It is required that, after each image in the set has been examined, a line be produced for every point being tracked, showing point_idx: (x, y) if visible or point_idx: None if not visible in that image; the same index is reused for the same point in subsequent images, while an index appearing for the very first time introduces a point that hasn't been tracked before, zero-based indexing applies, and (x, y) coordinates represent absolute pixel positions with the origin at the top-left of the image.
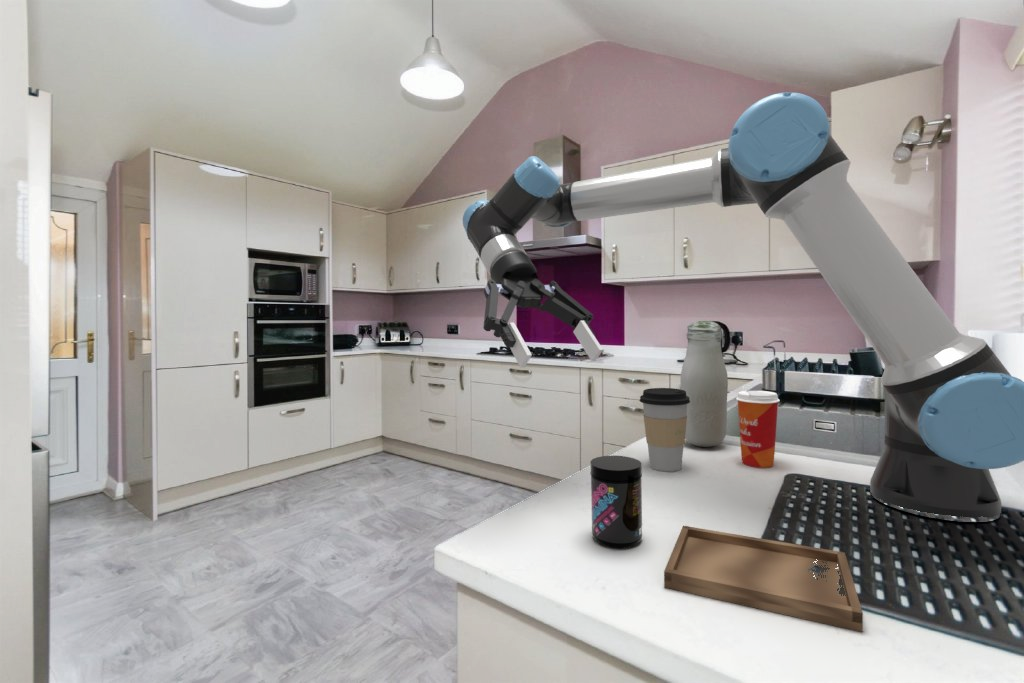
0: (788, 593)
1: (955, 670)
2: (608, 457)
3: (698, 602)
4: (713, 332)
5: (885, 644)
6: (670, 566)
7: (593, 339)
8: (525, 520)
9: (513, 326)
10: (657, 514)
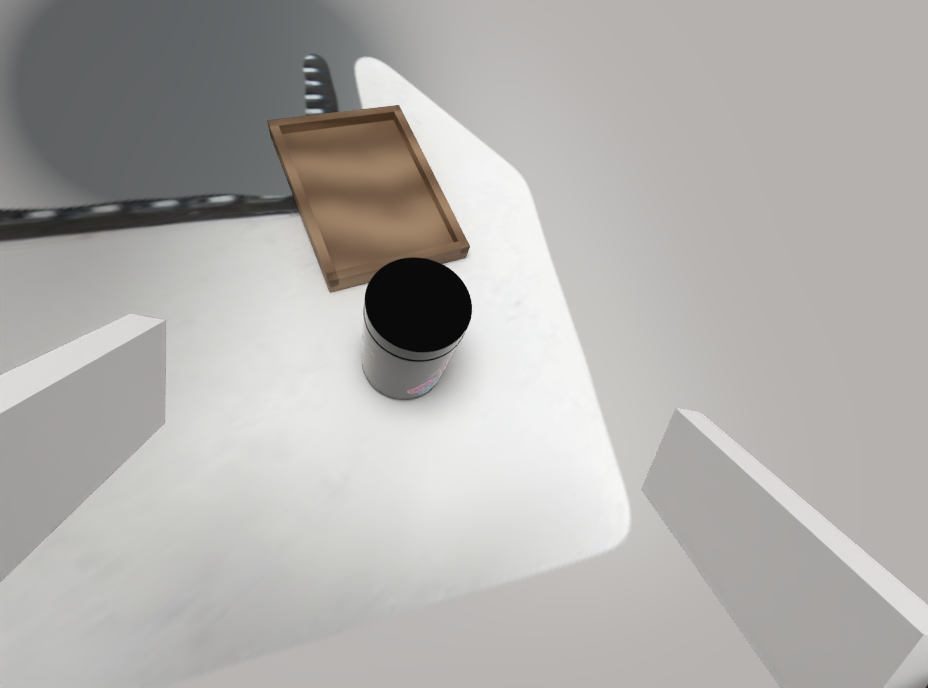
0: (393, 160)
1: (399, 78)
2: (399, 333)
3: (462, 223)
4: None
5: (401, 108)
6: (454, 245)
7: (94, 354)
8: (467, 530)
9: (893, 587)
10: (261, 366)
